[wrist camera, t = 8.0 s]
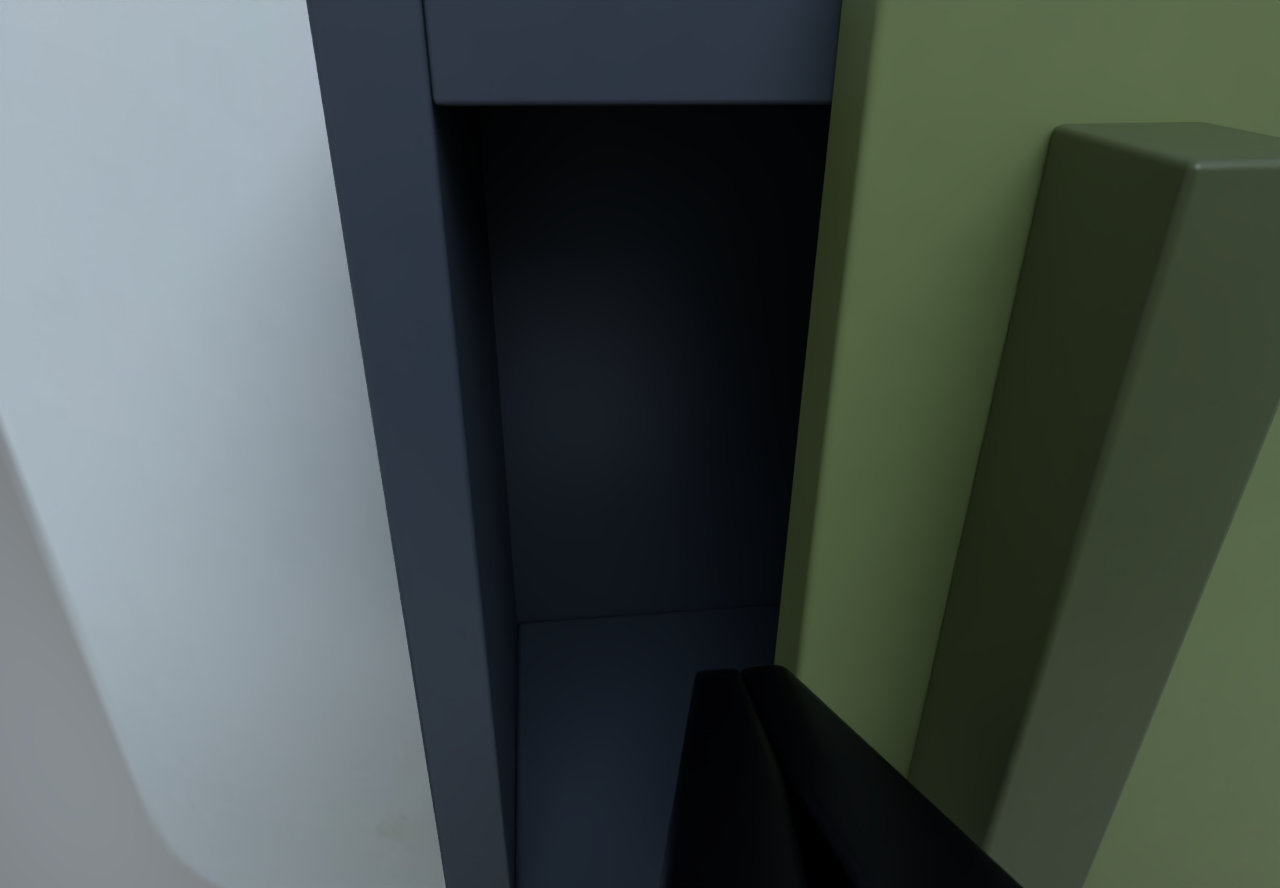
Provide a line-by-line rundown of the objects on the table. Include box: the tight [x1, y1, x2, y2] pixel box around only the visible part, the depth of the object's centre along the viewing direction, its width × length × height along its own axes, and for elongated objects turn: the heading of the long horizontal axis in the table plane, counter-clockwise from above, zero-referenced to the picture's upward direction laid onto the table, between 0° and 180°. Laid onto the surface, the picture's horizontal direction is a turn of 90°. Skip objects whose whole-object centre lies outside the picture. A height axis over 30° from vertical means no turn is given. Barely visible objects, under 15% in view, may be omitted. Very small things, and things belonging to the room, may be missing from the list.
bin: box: [306, 0, 842, 888], centre depth 12 cm, size 14×12×6 cm
